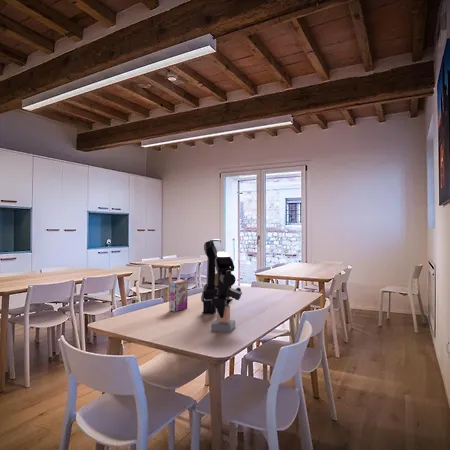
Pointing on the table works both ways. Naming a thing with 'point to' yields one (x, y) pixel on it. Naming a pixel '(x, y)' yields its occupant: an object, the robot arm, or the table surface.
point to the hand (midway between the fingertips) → (223, 316)
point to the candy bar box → (178, 295)
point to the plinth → (223, 326)
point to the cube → (226, 315)
